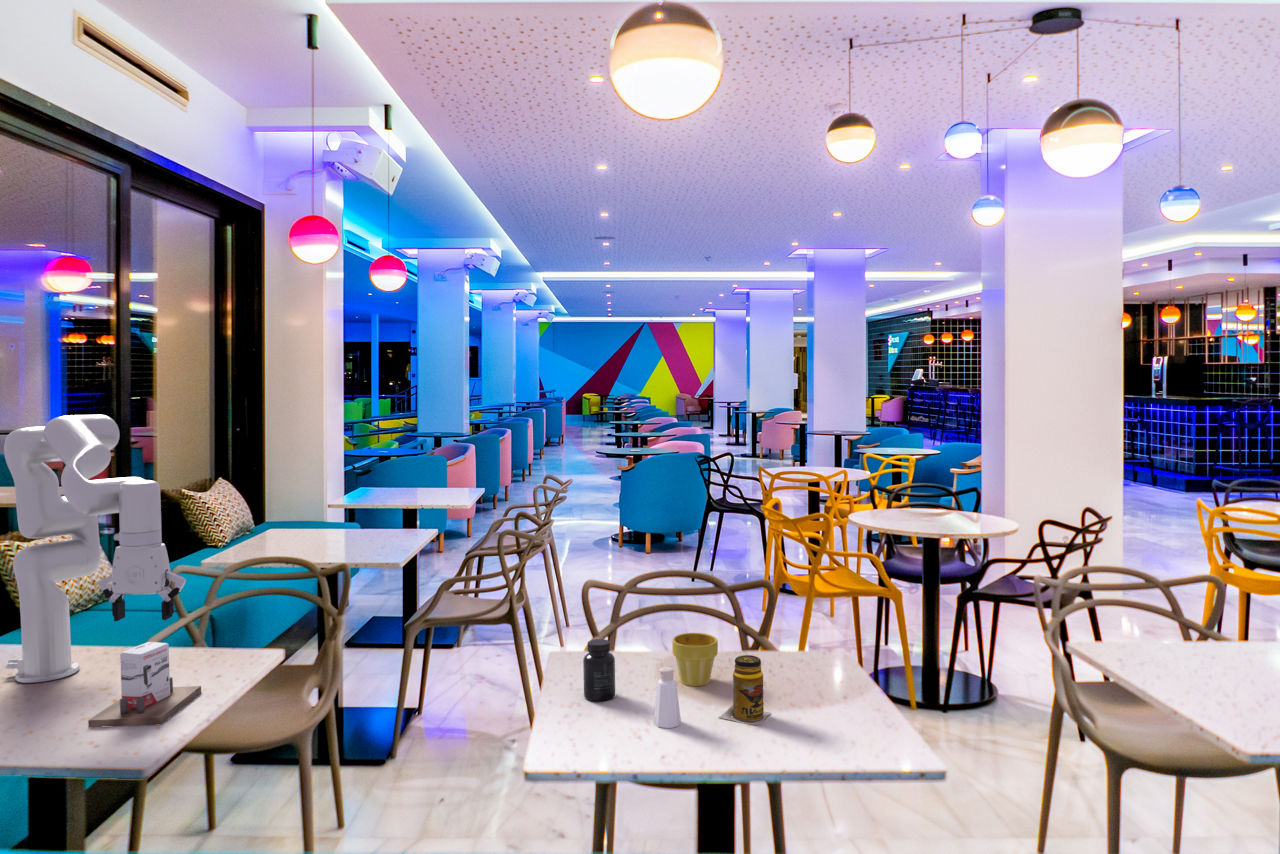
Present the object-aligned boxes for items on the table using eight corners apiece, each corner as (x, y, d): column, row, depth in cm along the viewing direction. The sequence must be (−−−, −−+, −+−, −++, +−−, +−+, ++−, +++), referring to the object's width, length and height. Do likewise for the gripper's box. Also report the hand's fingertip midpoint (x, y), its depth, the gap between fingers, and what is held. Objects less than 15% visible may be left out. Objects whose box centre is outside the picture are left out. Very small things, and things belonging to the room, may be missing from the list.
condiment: (757, 726, 162) (757, 666, 161) (718, 718, 166) (717, 659, 165) (770, 713, 168) (770, 655, 167) (732, 706, 172) (731, 649, 172)
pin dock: (88, 727, 166) (87, 705, 165) (136, 695, 184) (135, 675, 183) (160, 724, 167) (160, 702, 167) (201, 692, 185) (200, 672, 184)
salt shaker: (679, 717, 166) (679, 663, 166) (682, 728, 161) (681, 672, 161) (653, 718, 166) (652, 664, 166) (654, 729, 161) (653, 673, 160)
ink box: (141, 710, 171) (139, 654, 170) (120, 709, 171) (118, 653, 171) (171, 695, 179) (169, 641, 179) (151, 694, 180) (149, 640, 179)
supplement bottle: (583, 691, 182) (582, 637, 181) (614, 690, 182) (614, 636, 182) (583, 703, 175) (582, 647, 174) (616, 701, 175) (615, 646, 175)
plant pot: (726, 685, 184) (725, 642, 184) (684, 692, 181) (683, 648, 180) (705, 671, 194) (705, 630, 194) (665, 677, 190) (665, 635, 190)
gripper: (87, 543, 169) (90, 625, 170) (175, 541, 171) (177, 623, 171) (108, 536, 177) (110, 615, 178) (191, 535, 178) (194, 613, 179)
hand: (143, 619), depth 175 cm, fingers open, 9 cm apart
